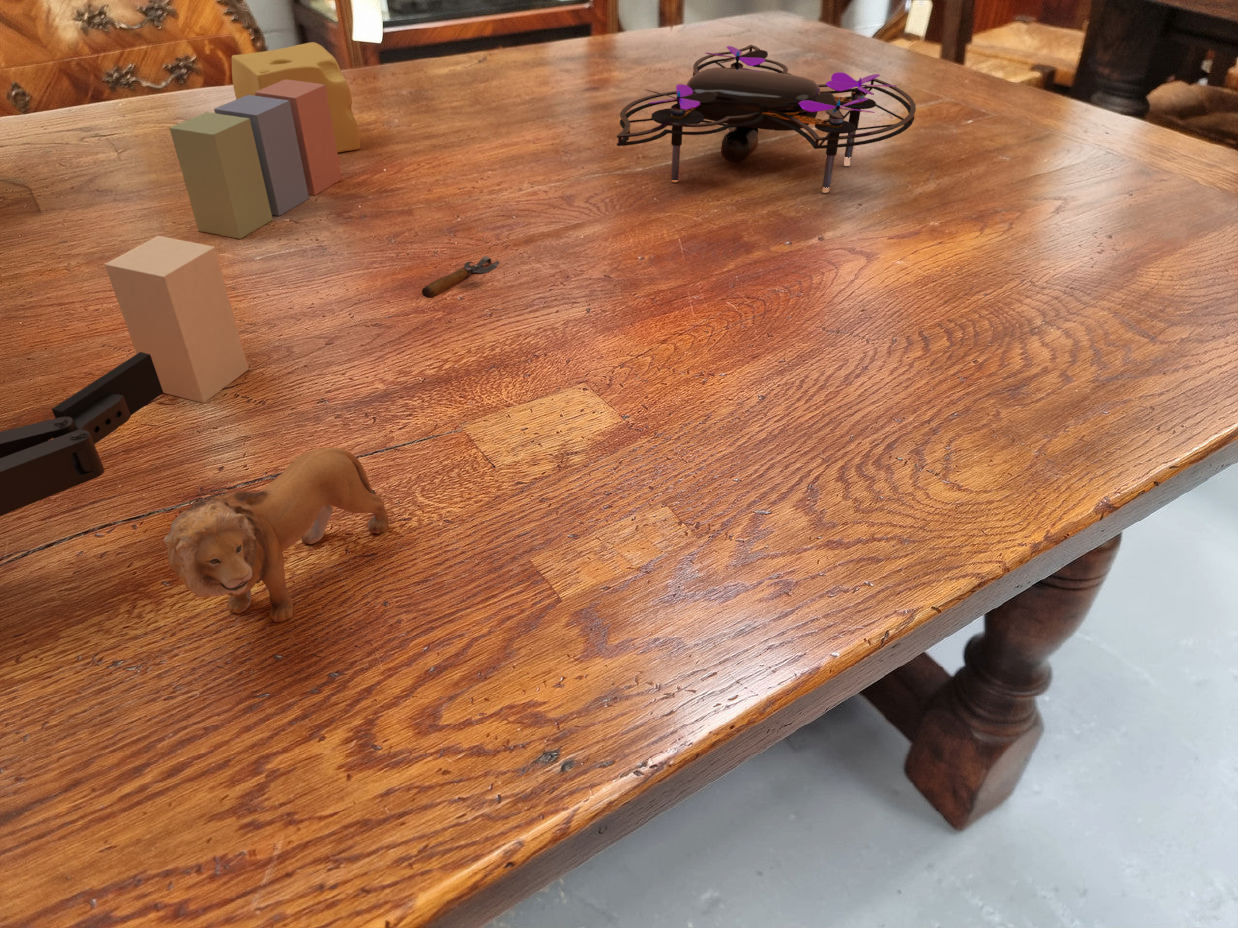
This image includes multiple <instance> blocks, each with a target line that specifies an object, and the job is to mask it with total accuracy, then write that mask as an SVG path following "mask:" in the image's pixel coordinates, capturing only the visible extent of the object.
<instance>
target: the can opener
mask: <svg viewBox="0 0 1238 928" xmlns="http://www.w3.org/2000/svg"><path fill="white" fill-rule="evenodd" d="M473 263H474V261H467V262H465V263H464V267H461V268H459V269H457V270H455V271H454V272H452V273H450V274H448V275H445V276H443V277H440V278H438V279H436V280H434V281H431V282H430V283H429V284H427V285H426V286H424V287H423V288H422V289H421V294H422V296H423V297H425V298H428V299H431V298H432V297H435V296H437V295H439V294H442V293H443V292H446V290H448V289H450V288H451V287H453V286H454V285H456V284H458V283H459V282H462V281H464V280H465V279H468V278H469V277H470V276H471V275H472V274H488V273H490V272H491V271H493V270H495V269H496V268H497V267H498V265H499V260H497V261H495V262H494V263H492V259H491V257H488V256H487V255H486V256H483V257H482V258H481V259H480V260H479V261H478V263H476V264H474V265H471V264H473ZM486 263H488V264H489V265H487V266H484V265H485V264H486Z"/></svg>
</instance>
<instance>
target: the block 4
mask: <svg viewBox="0 0 1238 928" xmlns="http://www.w3.org/2000/svg"><path fill="white" fill-rule="evenodd" d="M255 96H260V97H267V98H275V99H282V100H289V101H290V106H291V111H292V116H293V121H294V126H295V131H296V136H297V141H298V146H299V151H300V156H301V160H302V165H303V170H304V175H305V180H306V185H307V190H308V195H312V196H316V195H318V194H319V193H321V192H324V191H325V190H327V189H328V188H329V187H331V186H333V185H335V184H336V183H338V182H339V181H341V180H343V176H342V172H341V170H342V169H341V166H340V165H341V164H340V160H339V154H338V153H339V152H338V153H337V148H336V142H335V136H334V131H333V125H332V119H331V114H330V108H329V102H328V97H327V91H326V85H325V84H317V83H310V82H302V81H294V80H287V79H285V80H282V81H280V82H278V83H275V84H273V85H270V86H268V87H266V88H263V89H261V90H258V91H256V92H255Z"/></svg>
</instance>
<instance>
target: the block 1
mask: <svg viewBox="0 0 1238 928" xmlns="http://www.w3.org/2000/svg"><path fill="white" fill-rule="evenodd" d="M169 131H170V134H171V139H172V142H173V146H174V149H175V153H176V156H177V160H178V163H179V167H180V170H181V174H182V179H183V182H184V184H185V188H186V191H187V195H188V199H189V202H190V206H191V209H192V213H193V216H194V219H195V223H196V227H197V230H198V232H202V233H207V234H211V235H216V236H223V237H228V238H233V239H237V240H241V239H243V238H244V237H246V236H248V235H250V234H252V233H253V232H255V231H257V230H258V229H260V228H262V227H263V226H266V225H267V224H268V223H271V222H272V221H273V220H274V219H273V215H272V214H271V209H270V205H269V201H268V196H267V192H266V188H265V183H264V179H263V175H262V170H261V166H260V161H259V157H258V153H257V148H256V144H255V140H254V135H253V131H252V127H251V122H250V119H249V118H244V117H237V116H230V115H223V114H216V113H215V112H208V111H206V112H202V113H201V114H198V115H196V116H194V117H192V118H189V119H187V120H184V121H181V122H179V123H176V124H175V125H172V126H170V127H169Z"/></svg>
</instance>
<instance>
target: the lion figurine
mask: <svg viewBox="0 0 1238 928" xmlns="http://www.w3.org/2000/svg"><path fill="white" fill-rule="evenodd" d="M333 507H335V508H338V509H339V510H343V511H346V512H348V513H353V514H369V513H370V514H373V516H372V517H371V518H370V519H369V521H368V522H367V524H366V526H367V530H368V531H369V532H370V533H372V534H376V535H377V534H382V533H384V532H386V530H387V529H388V528H389V518H388V517H389V516H388V513H387V510H386V508H385V504H384V502H383V499H382V497H381V496H380V495H378V494H377V492H376V490H375V489H373V488H371V484H370V479H369V476H368V475H367V472H366V470H365V469H364V466H363V465H362V463H361V461H360V460H359V459H358V457H357V456H355V454H354V453H352V451H350V450H348V449H346V448H345V449H344V448H341V447H325V448H324V447H323V448H317V449H313V450H309V451H306V452H303V453H301V454H300V455H298V456H297V457H296V458H295V459H294V460H293V461H292V462H291V463H290V464H289V465H288V466H287V468H286V469H284V471H283V472H282V473H281V474H279V475H278V476H277V477H276V478H275V479H273V480H272V481H271V482H270V483H268V484H267V485H266V486H264V487H263V488H261V489H259V490H258V491H256V492H249V491H246V490H235V491H233V492H231V493H230V492H229V493H224V494H223V495H222V496H220V495H215V496H210V497H209V498H208V499H201V500H199V501H198V502H195V503H193V504H192V505H191V506H190V507H189V508H187V509H185V510H183V511H182V512H180V514H179V515H178V516H176V517H175V518H174V519H173V521H172V522H171V525H170V531H169V533H167V535H165V536H164V538H163V541H164V544H165V545H166V546H167V559H168V564H169V567H170V568H171V570H172V571H174V573H175V574H176V575H178V577H179V579H180V580H181V581H182V583H183V584H184V586H185V587H186V589H187V590H189V591H190V592H191V593H192V594H193V595H194V596H196V597H197V598H199V599H200V598H210V597H213V598H215V597H216V598H217V597H221V596H229V597H228V599H227V605H226V608H227V610H228V611H229V613H232V614H241V613H243V612H245V611H246V610H247V609H248V608H249V607H250V605H251V603H252V589H253V588H254V587H255V586H256V585H257V584H260V583H261V582H262V583H264V585H265V586H266V588H267V590H268V593H269V602H270V605H271V608H270V610H269V612H268V613H269V617H270V619H271V620H273V621H274V622H276V623H278V622H285V621H289V620H292V619H293V615H294V603H293V599H292V597H291V596H290V593H289V591H288V588H287V581H286V571H285V557H284V553H283V552H285V551H286V550H288V549H289V548H290V547H292V546H293V545H295V544H296V543H297V542H299V541H300V540H301V542H303V543H306V544H308V545H312V544H316V543H317V542H319V541H321V539H322V538H323V537H324V535H325V532H326V529H327V526H328V524H329V522H330V520H331V517H332V515H333V513H334V510H333Z"/></svg>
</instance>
